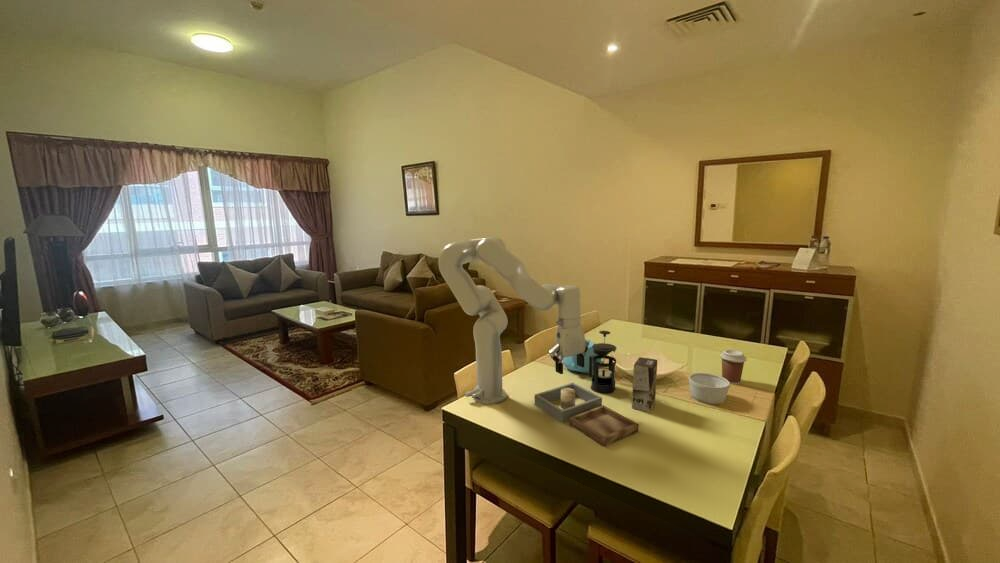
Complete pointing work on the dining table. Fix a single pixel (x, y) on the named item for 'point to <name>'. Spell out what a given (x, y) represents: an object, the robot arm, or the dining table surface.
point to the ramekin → (708, 387)
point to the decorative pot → (572, 360)
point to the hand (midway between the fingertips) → (570, 369)
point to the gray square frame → (564, 415)
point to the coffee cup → (732, 365)
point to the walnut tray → (604, 425)
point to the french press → (603, 374)
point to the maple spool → (567, 398)
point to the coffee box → (644, 384)
